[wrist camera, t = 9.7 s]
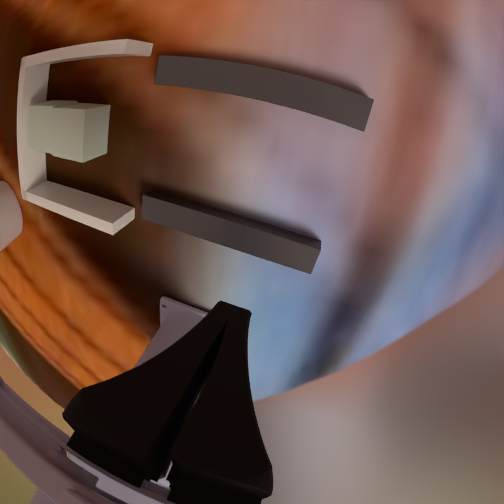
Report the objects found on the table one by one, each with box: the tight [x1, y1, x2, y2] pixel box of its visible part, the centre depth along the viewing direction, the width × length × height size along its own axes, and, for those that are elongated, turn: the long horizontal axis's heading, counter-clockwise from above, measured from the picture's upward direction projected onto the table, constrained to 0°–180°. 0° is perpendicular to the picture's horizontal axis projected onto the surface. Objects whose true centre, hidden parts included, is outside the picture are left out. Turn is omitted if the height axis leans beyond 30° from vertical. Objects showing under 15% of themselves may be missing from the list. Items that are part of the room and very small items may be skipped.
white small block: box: [52, 103, 111, 163], centre depth 17 cm, size 4×4×3 cm
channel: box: [142, 55, 374, 274], centre depth 17 cm, size 12×13×1 cm
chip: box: [28, 100, 78, 154], centre depth 18 cm, size 4×4×3 cm
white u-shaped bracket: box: [17, 39, 153, 235], centre depth 17 cm, size 14×13×3 cm
